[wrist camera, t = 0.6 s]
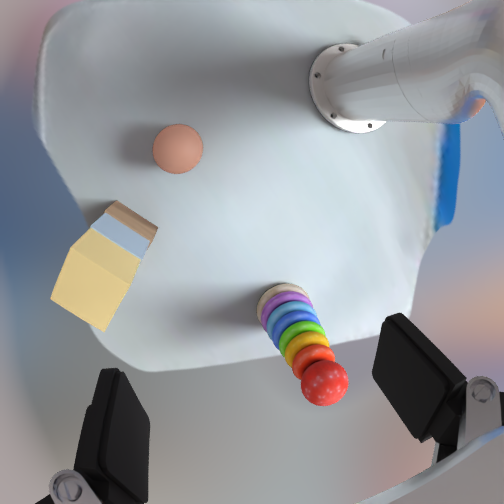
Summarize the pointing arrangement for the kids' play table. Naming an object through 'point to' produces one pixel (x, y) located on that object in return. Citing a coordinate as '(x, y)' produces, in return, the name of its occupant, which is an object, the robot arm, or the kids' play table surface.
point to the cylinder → (177, 149)
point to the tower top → (95, 279)
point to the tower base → (132, 220)
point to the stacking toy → (302, 343)
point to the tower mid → (121, 235)
